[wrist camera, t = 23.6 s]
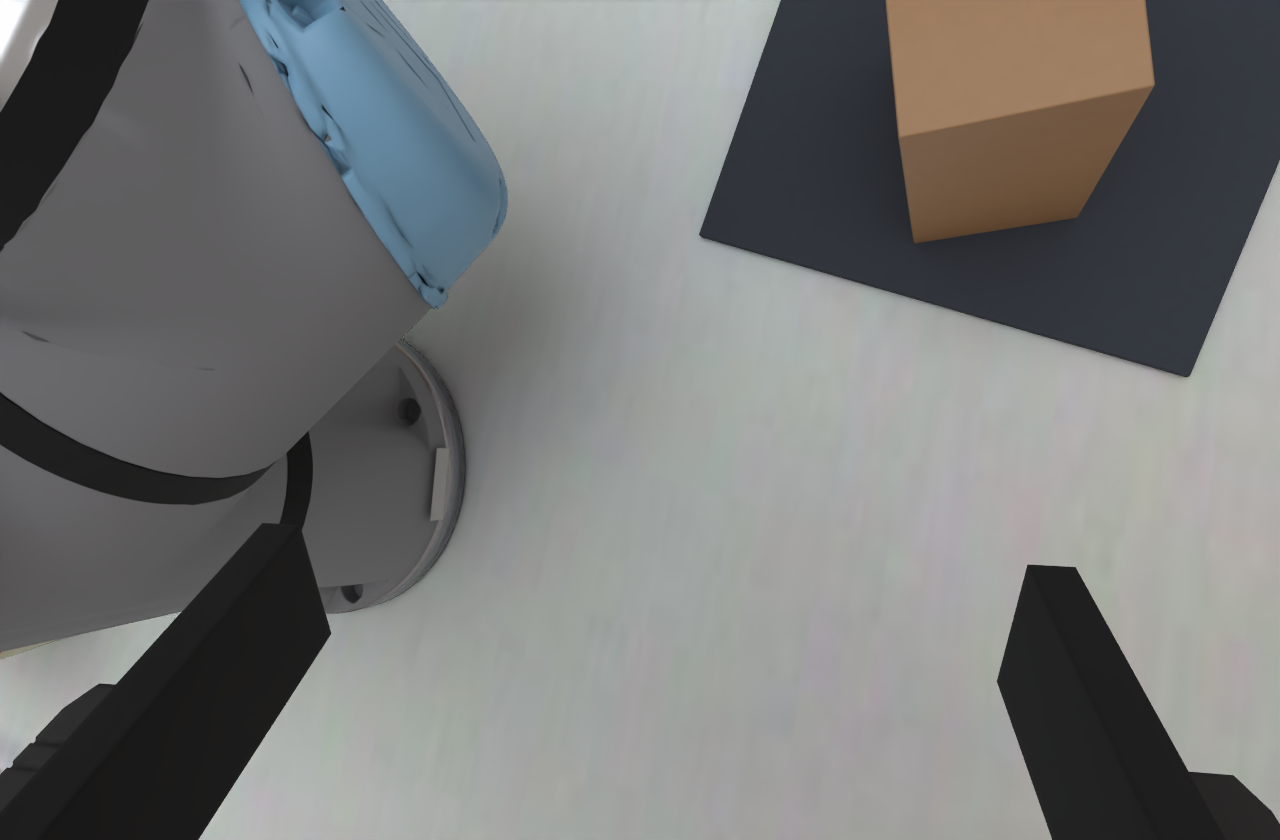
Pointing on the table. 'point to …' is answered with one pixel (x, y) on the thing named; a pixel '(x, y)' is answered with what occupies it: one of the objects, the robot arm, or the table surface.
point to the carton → (1012, 106)
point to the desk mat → (1029, 255)
